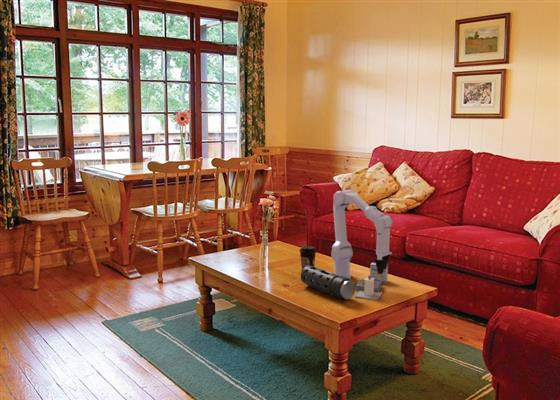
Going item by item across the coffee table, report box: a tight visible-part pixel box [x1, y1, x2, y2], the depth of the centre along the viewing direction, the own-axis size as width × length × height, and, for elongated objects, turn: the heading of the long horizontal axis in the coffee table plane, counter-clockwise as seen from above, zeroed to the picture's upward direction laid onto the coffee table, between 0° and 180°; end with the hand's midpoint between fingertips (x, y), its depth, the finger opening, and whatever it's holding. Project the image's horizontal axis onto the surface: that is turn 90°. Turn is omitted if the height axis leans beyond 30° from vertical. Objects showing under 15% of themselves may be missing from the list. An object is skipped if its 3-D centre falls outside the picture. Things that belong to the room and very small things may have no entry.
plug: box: [364, 275, 374, 296], centre depth 243 cm, size 4×4×8 cm
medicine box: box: [369, 262, 389, 284], centre depth 264 cm, size 8×4×9 cm, turn 70°
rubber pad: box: [354, 290, 383, 301], centre depth 244 cm, size 10×10×1 cm
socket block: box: [355, 279, 383, 292], centre depth 253 cm, size 10×10×2 cm
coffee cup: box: [299, 245, 317, 272], centre depth 279 cm, size 9×8×13 cm
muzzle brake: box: [300, 265, 356, 301], centre depth 246 cm, size 10×28×10 cm, turn 36°
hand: (381, 271), depth 249 cm, fingers open, 7 cm apart
